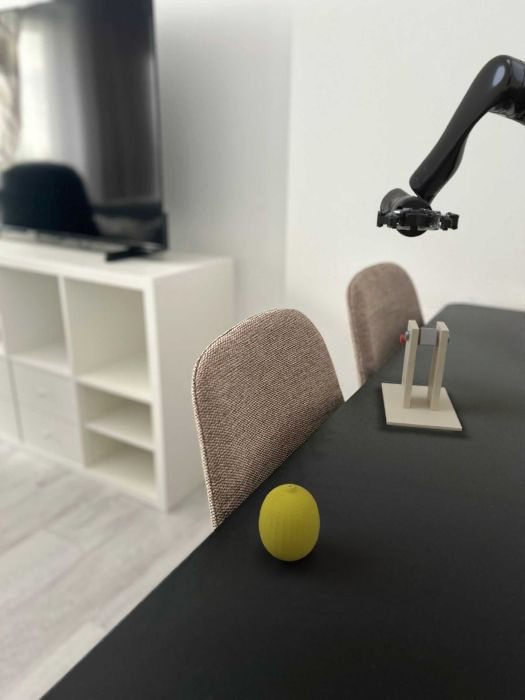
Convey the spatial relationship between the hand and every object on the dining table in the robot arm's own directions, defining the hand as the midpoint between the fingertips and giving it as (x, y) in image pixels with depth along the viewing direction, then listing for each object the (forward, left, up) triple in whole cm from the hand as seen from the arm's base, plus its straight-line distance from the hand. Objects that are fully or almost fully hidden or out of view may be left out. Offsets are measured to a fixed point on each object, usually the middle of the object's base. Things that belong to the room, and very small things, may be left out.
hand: (420, 223), depth 88 cm
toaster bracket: (+5, +19, -26) cm, 33 cm away
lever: (+4, +16, -17) cm, 23 cm away
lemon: (+29, +48, -26) cm, 62 cm away
